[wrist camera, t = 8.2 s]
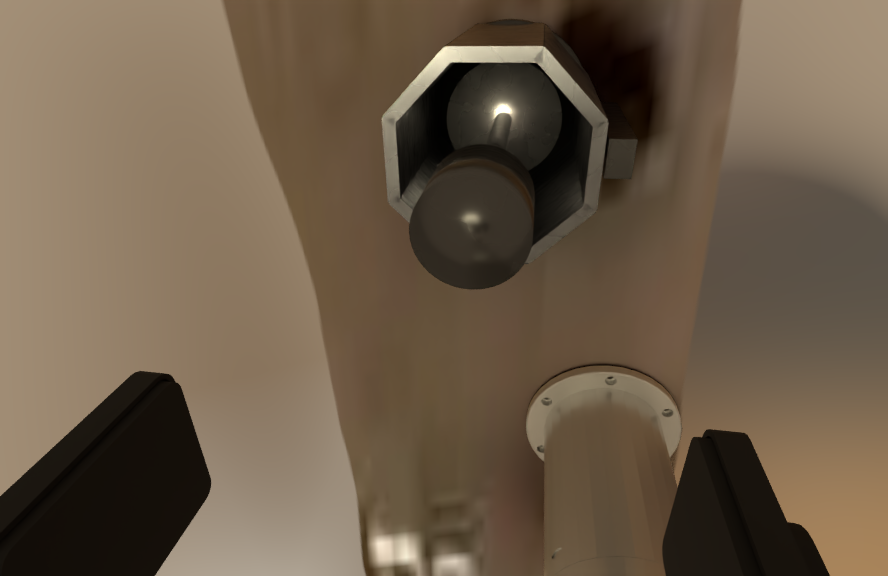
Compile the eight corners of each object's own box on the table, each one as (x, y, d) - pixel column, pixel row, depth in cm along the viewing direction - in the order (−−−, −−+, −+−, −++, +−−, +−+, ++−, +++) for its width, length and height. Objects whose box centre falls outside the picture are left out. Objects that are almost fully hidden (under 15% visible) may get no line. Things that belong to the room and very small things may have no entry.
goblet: (556, 175, 32) (564, 328, 18) (449, 171, 33) (378, 314, 19) (567, 57, 29) (586, 134, 15) (447, 57, 30) (361, 129, 16)
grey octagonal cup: (598, 185, 36) (621, 273, 25) (432, 179, 37) (388, 259, 27) (620, 17, 31) (660, 39, 20) (427, 19, 32) (371, 41, 22)
